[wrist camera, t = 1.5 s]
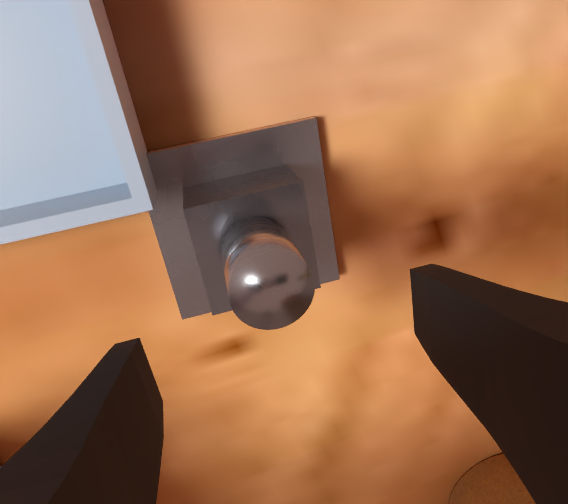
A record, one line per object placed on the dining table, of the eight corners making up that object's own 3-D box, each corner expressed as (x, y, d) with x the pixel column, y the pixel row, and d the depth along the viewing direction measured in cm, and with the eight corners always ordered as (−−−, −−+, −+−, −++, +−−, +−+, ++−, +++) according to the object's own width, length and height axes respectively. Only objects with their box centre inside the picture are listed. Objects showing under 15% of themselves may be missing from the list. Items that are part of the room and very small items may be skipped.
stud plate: (335, 274, 24) (355, 301, 21) (182, 313, 23) (182, 346, 20) (312, 116, 21) (332, 123, 18) (133, 154, 20) (125, 168, 17)
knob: (301, 256, 22) (348, 332, 16) (208, 280, 22) (218, 368, 15) (285, 164, 20) (331, 208, 14) (183, 187, 20) (182, 243, 14)
